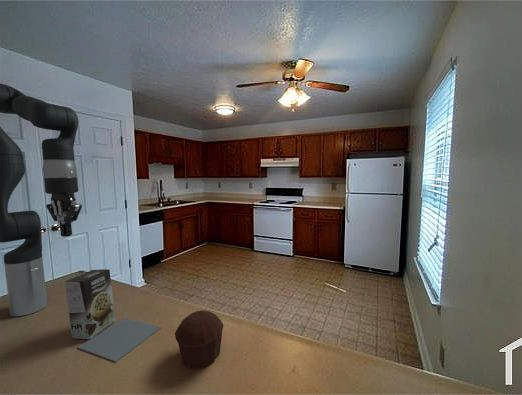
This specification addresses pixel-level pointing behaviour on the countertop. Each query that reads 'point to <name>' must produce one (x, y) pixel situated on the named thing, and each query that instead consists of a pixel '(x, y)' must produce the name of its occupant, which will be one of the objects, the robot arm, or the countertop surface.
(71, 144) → the robot arm
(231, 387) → the countertop surface
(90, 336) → the coffee box
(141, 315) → the countertop surface
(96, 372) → the countertop surface
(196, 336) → the muffin
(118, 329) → the mat
